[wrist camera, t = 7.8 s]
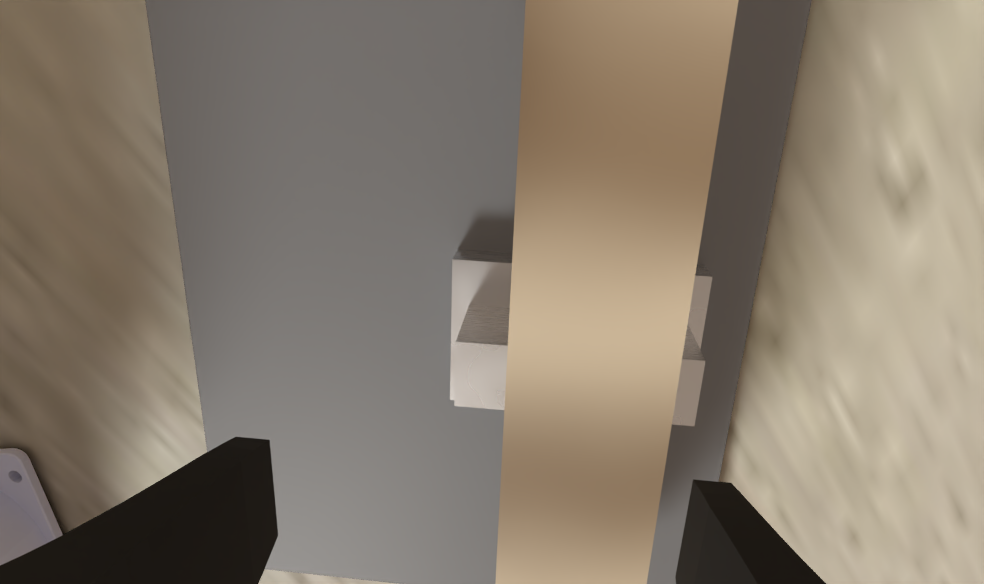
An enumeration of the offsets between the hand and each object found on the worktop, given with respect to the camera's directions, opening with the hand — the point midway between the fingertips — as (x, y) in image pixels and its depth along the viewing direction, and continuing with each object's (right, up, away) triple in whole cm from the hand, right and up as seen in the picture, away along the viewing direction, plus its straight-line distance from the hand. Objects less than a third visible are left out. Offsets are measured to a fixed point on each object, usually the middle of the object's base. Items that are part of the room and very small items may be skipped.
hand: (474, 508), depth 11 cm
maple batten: (+2, +1, +5) cm, 6 cm away
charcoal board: (-2, +3, +10) cm, 10 cm away
